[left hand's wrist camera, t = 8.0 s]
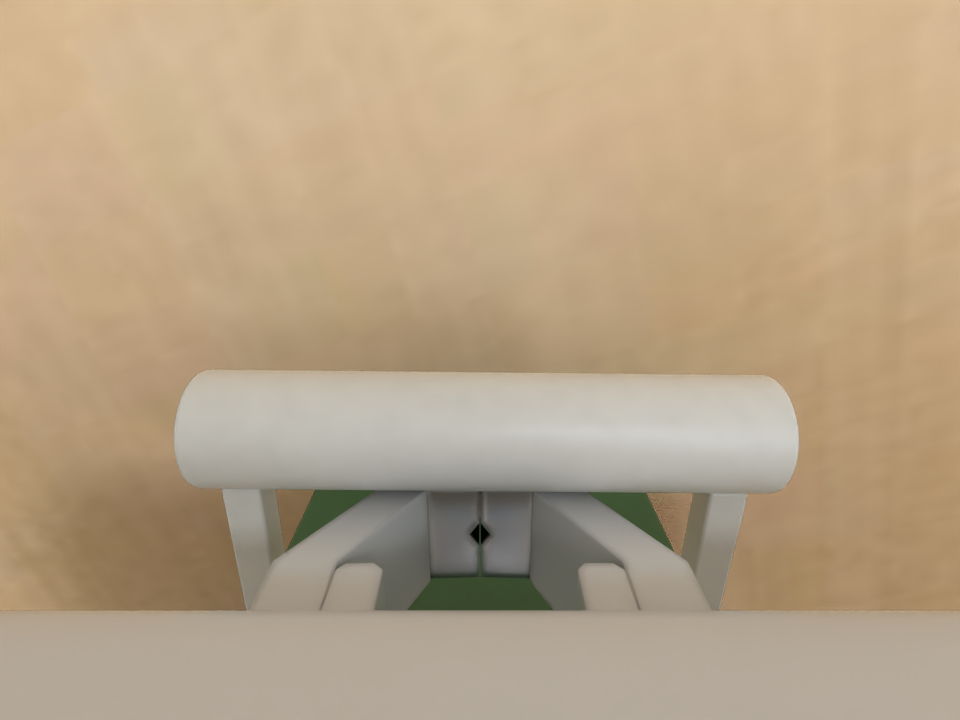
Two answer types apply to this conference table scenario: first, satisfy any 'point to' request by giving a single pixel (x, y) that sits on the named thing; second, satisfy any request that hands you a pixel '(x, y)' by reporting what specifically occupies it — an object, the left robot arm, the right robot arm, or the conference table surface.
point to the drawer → (485, 453)
